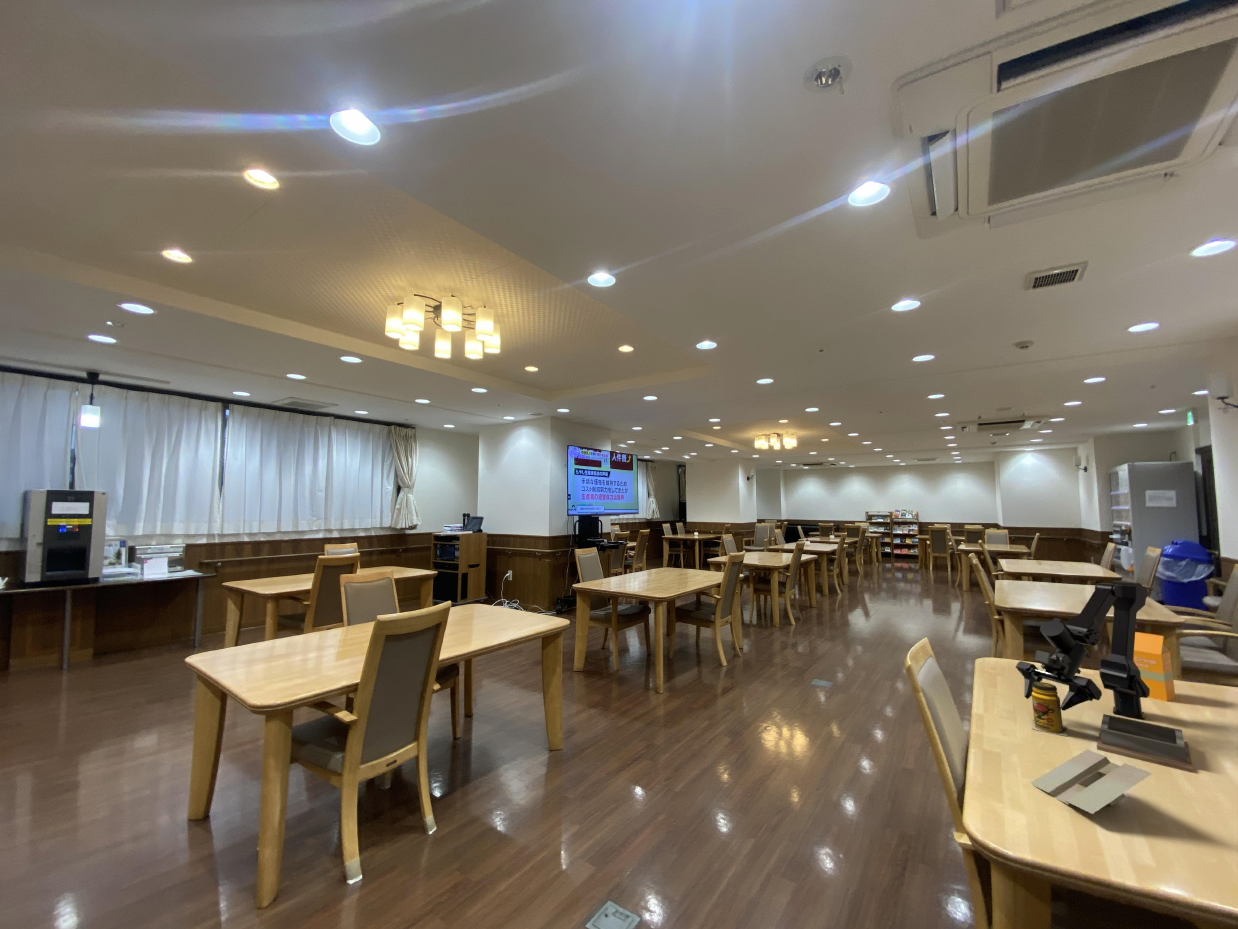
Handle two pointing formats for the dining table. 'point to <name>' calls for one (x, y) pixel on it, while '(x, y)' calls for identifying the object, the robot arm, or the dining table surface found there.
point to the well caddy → (1144, 742)
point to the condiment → (1047, 709)
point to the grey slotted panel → (1090, 781)
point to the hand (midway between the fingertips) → (1043, 703)
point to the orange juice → (1154, 665)
